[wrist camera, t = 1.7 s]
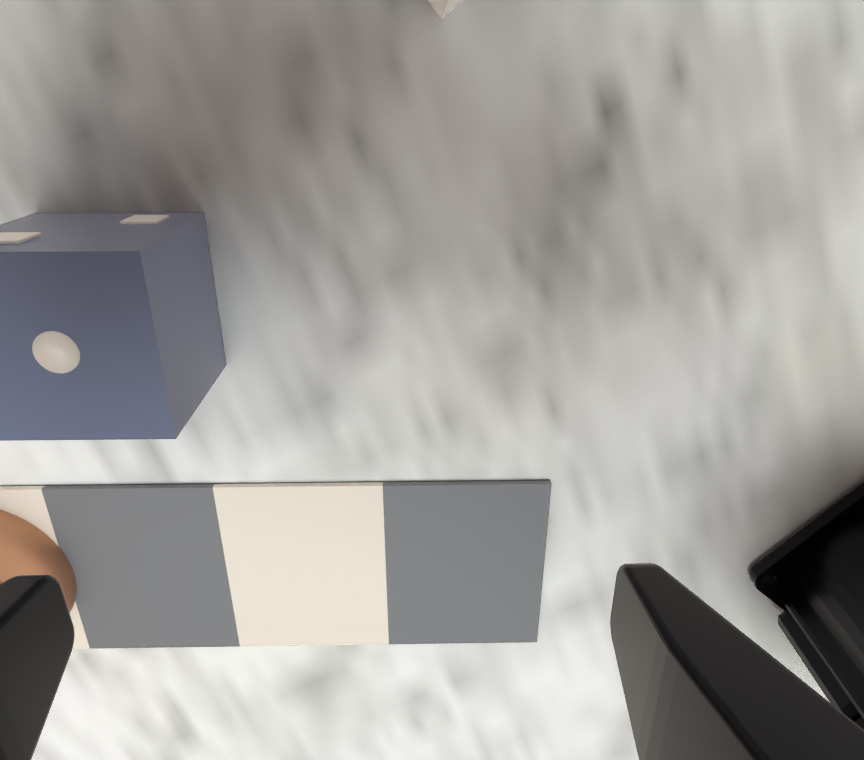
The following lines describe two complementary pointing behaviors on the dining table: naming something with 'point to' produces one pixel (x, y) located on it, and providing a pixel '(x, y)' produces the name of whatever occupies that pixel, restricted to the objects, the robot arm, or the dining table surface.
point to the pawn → (33, 555)
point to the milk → (444, 6)
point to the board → (297, 561)
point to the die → (106, 325)
